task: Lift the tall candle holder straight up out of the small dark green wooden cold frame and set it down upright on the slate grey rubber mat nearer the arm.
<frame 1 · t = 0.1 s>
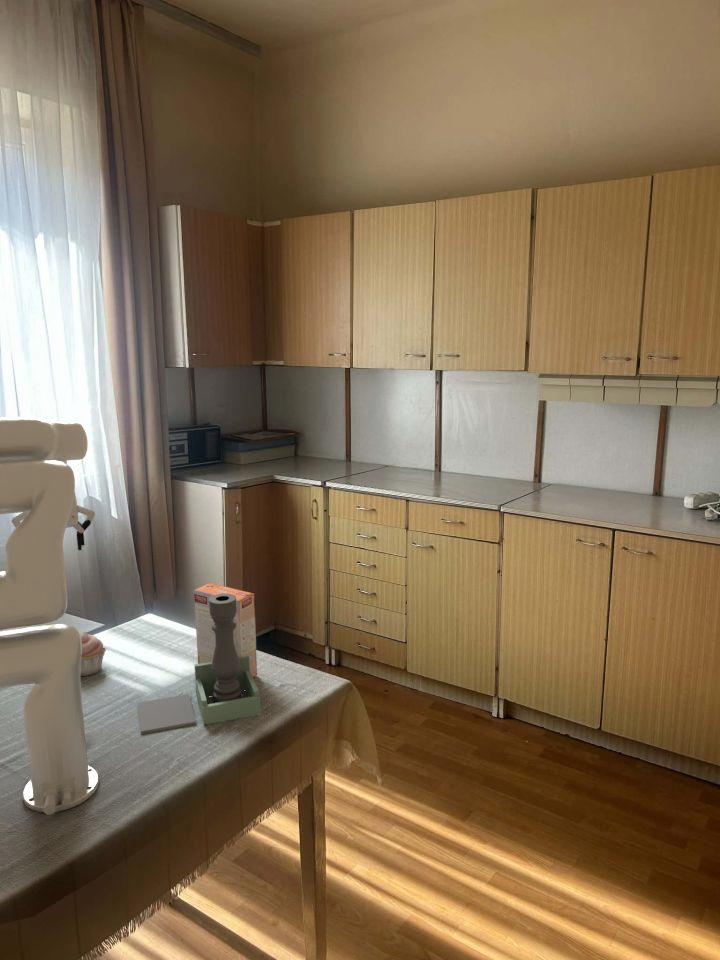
hand: (57, 550, 166), 31 cm above the table, tool pointing down, fingers open, 9 cm apart
cracker box: (227, 674, 174), on the table
cold frame: (227, 705, 160), on the table
slate mat: (166, 714, 156), on the table
cupcake: (87, 671, 176), on the table
candle holder: (227, 706, 160), resting in cold frame
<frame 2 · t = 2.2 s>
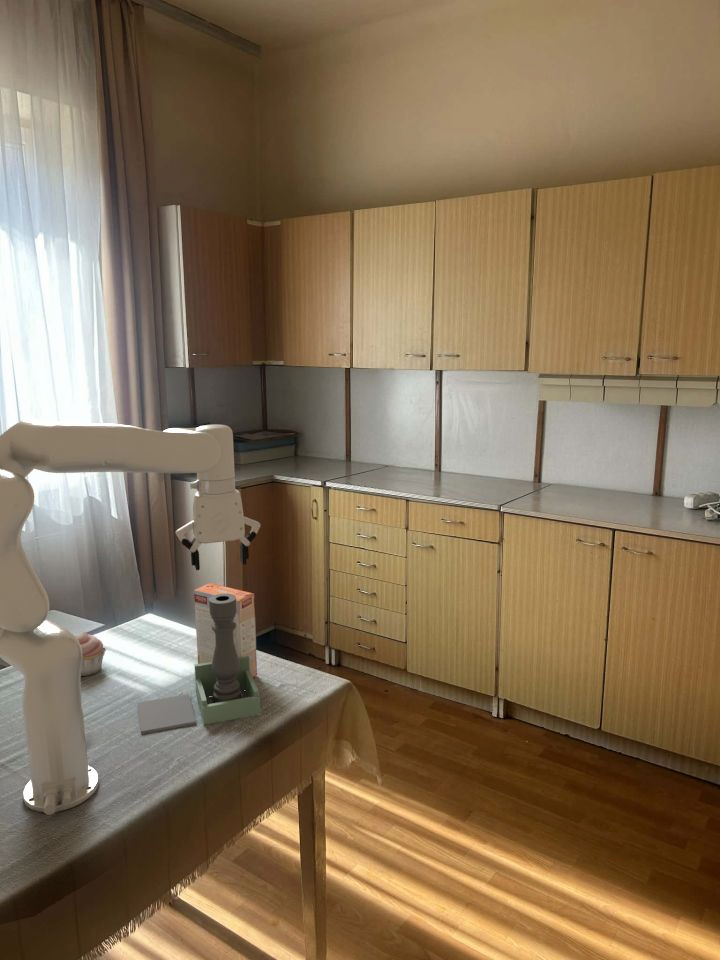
hand: (220, 565, 153), 32 cm above the table, tool pointing down, fingers open, 9 cm apart
nothing on the table moved.
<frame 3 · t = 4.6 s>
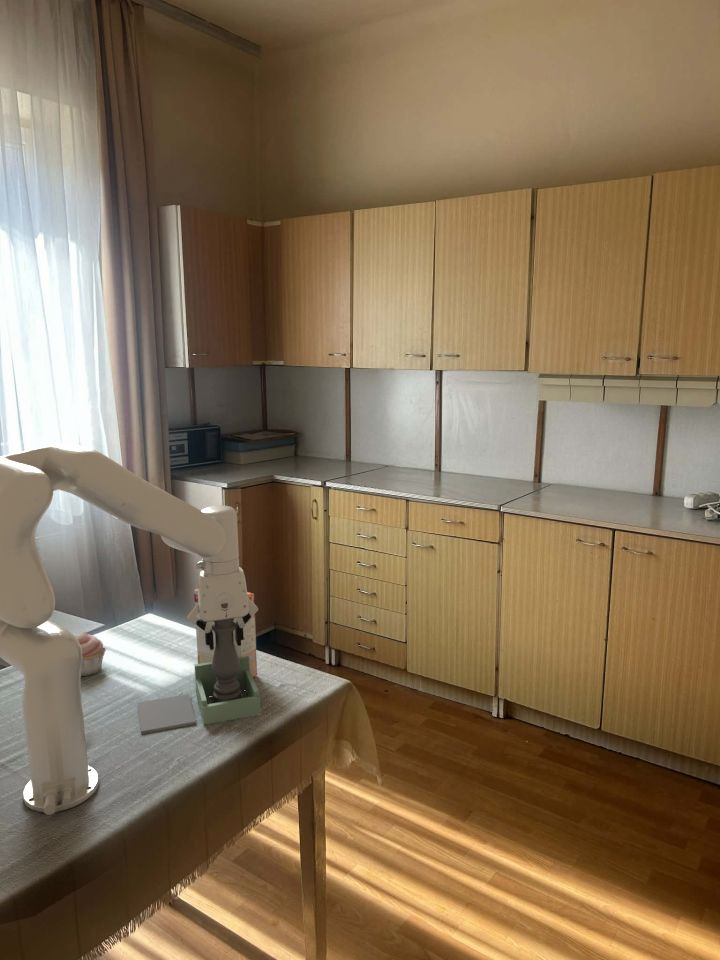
hand: (224, 644, 157), 14 cm above the table, tool pointing down, fingers closed on candle holder, 5 cm apart
candle holder: (227, 706, 160), resting in cold frame, touching gripper
everything else where it was.
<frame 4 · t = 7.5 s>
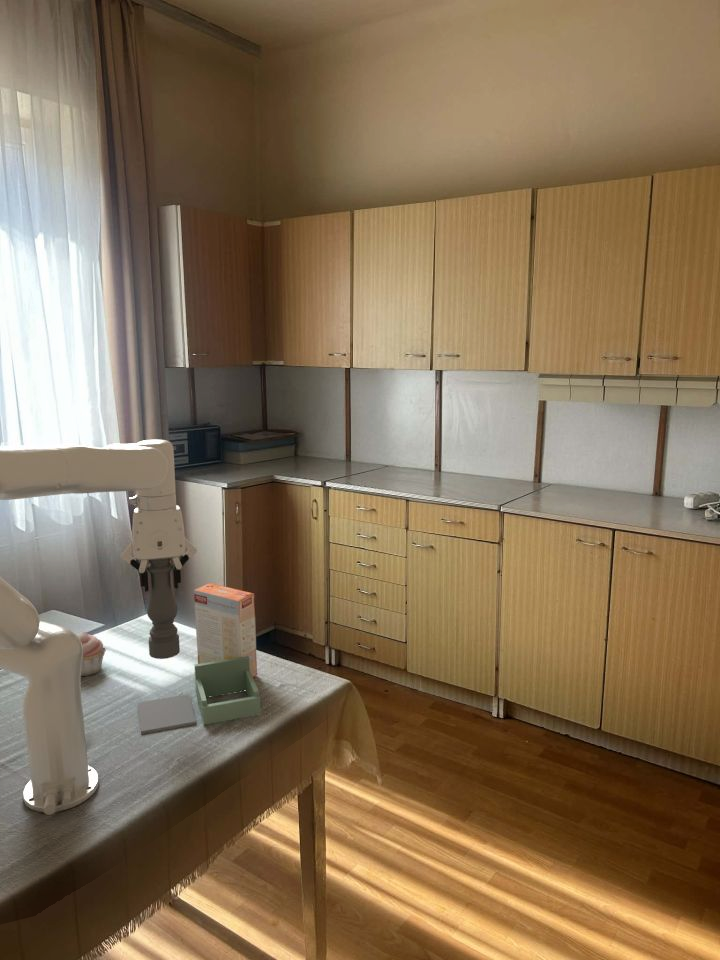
hand: (161, 586, 150), 29 cm above the table, tool pointing down, fingers closed on candle holder, 5 cm apart
candle holder: (164, 653, 153), point 14 cm above the table, touching gripper
everything else where it was.
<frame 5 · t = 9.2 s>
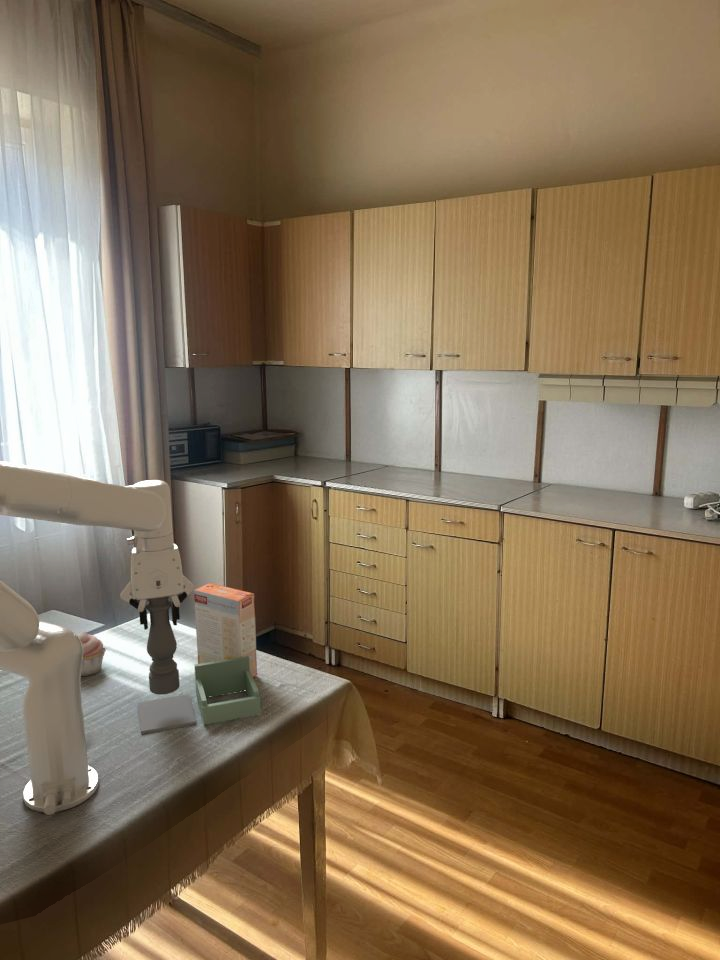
hand: (160, 624, 152), 21 cm above the table, tool pointing down, fingers closed on candle holder, 5 cm apart
candle holder: (164, 688, 155), point 6 cm above the table, touching gripper
everything else where it was.
when the fingers open (16 cm above the table, at t = 10.5 s): candle holder drops 1 cm, resting on slate mat.
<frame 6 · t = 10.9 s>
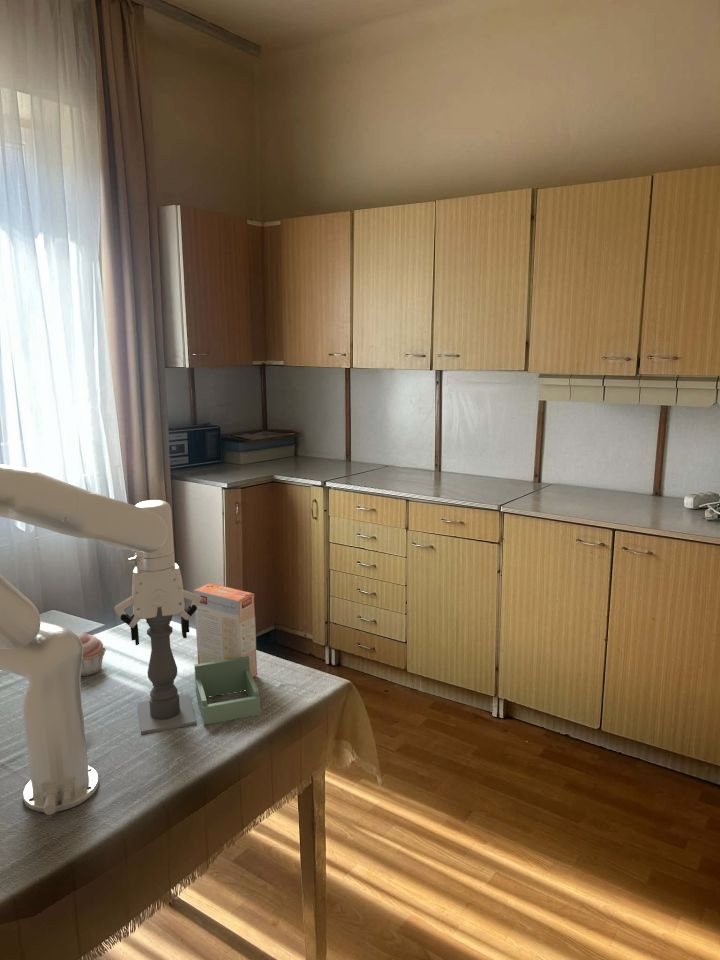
hand: (160, 639, 153), 17 cm above the table, tool pointing down, fingers open, 9 cm apart
candle holder: (165, 713, 156), resting on slate mat
everything else where it was.
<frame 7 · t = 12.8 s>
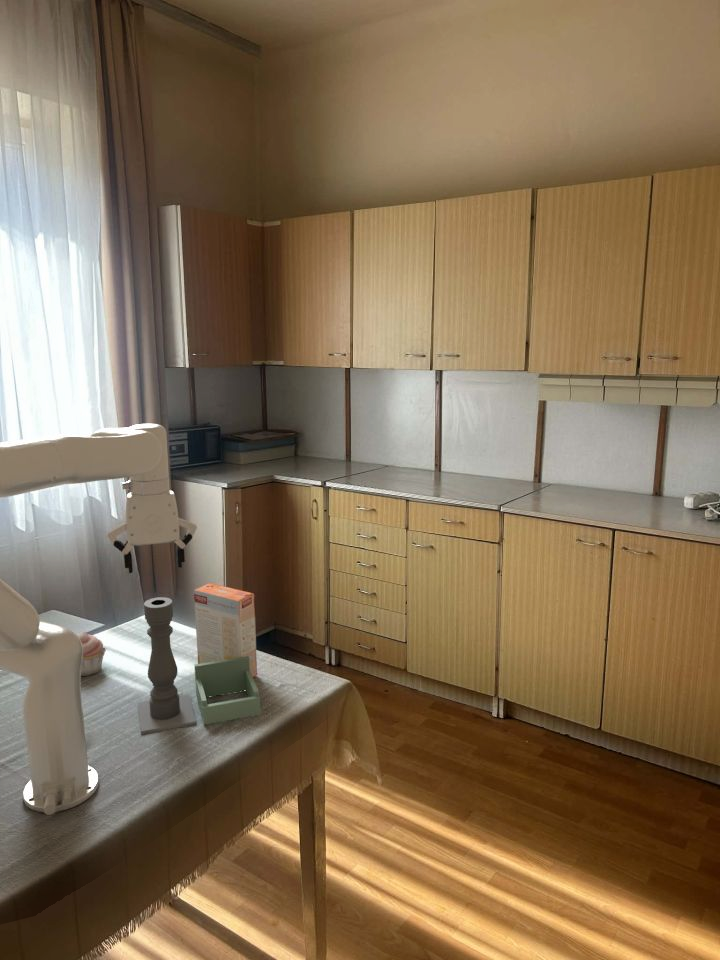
hand: (155, 568, 149), 33 cm above the table, tool pointing down, fingers open, 9 cm apart
nothing on the table moved.
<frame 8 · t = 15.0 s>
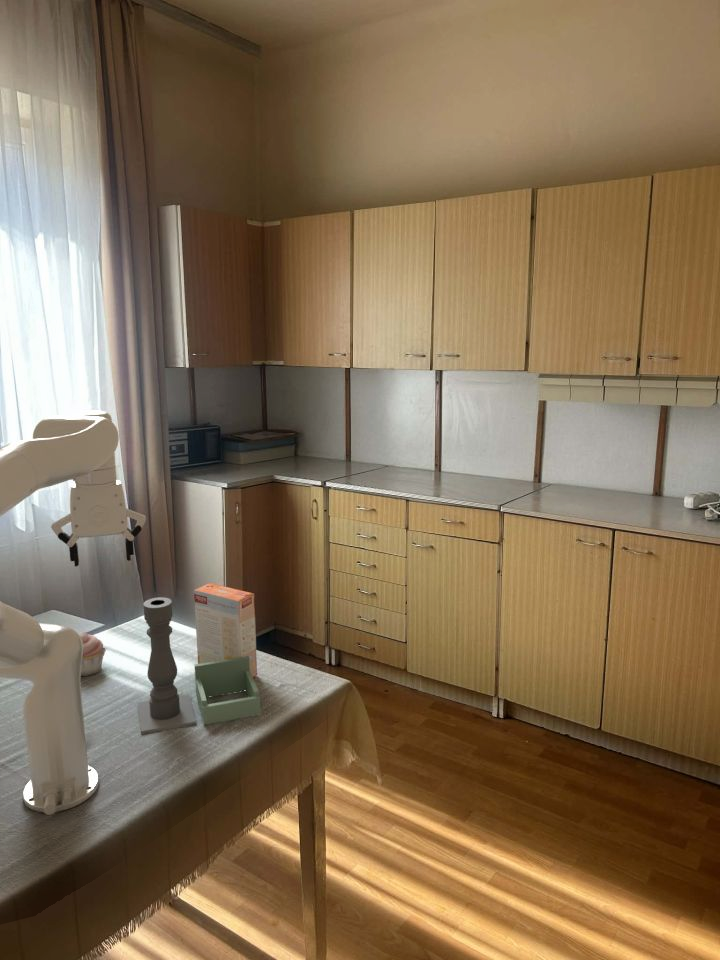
hand: (103, 561, 143), 36 cm above the table, tool pointing down, fingers open, 9 cm apart
nothing on the table moved.
at the end: candle holder inside the target area on the slate mat (0.2 cm from its centre), point 0.4 cm above the slate mat's base; candle holder tilted 0°; the gripper is holding nothing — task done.
